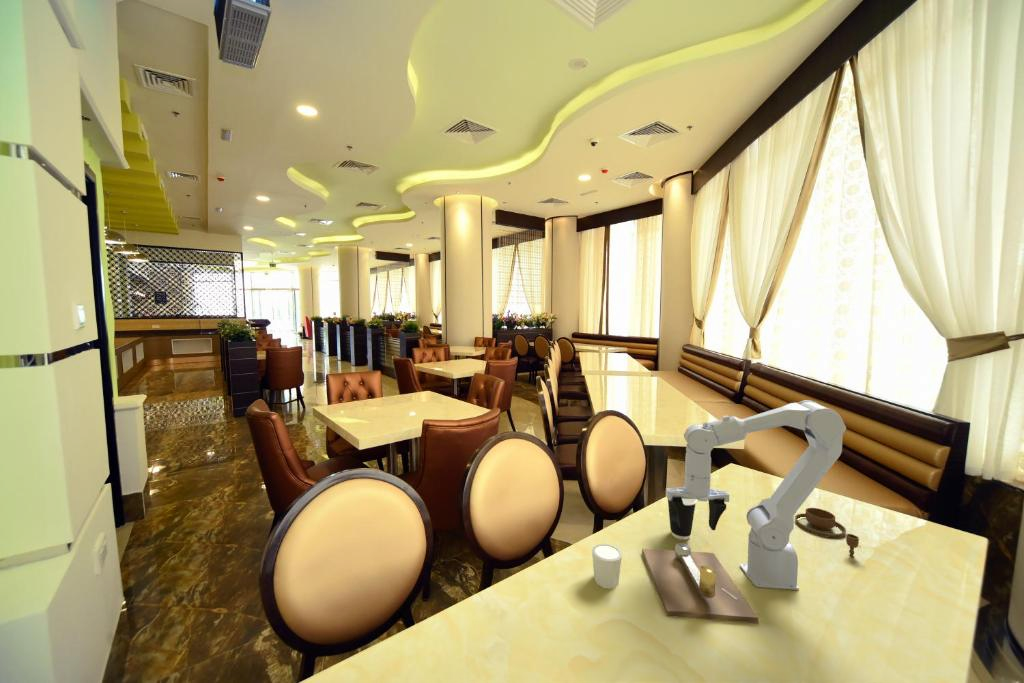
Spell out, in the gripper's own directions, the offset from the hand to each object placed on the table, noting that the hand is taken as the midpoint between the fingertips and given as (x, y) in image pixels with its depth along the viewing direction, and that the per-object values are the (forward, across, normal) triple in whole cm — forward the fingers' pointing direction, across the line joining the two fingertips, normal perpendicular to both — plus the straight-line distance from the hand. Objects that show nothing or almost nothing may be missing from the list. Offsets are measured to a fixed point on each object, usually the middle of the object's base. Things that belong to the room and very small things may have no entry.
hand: (696, 527), depth 96 cm
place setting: (+11, +42, +20) cm, 47 cm away
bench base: (+10, -3, -7) cm, 12 cm away
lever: (+8, -3, -7) cm, 12 cm away
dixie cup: (+10, +1, +14) cm, 17 cm away
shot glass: (+10, -23, -8) cm, 26 cm away
